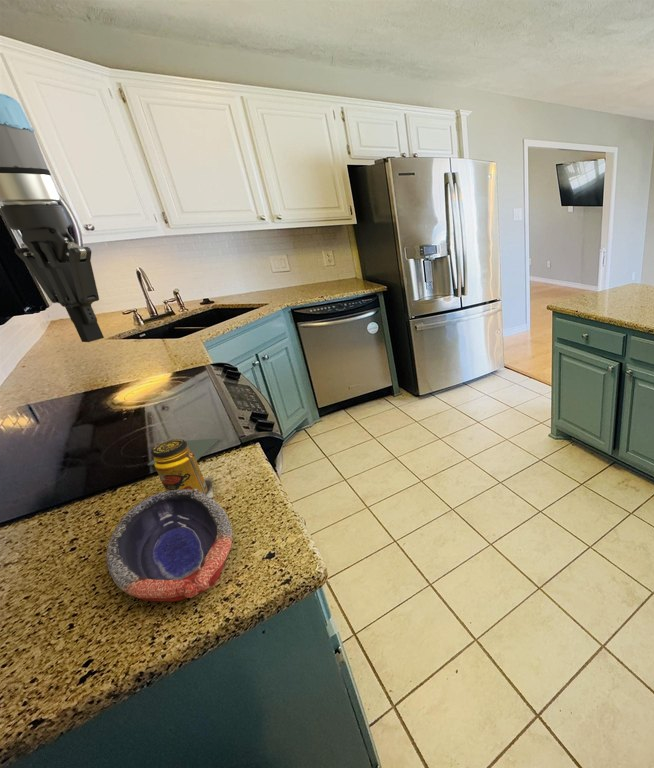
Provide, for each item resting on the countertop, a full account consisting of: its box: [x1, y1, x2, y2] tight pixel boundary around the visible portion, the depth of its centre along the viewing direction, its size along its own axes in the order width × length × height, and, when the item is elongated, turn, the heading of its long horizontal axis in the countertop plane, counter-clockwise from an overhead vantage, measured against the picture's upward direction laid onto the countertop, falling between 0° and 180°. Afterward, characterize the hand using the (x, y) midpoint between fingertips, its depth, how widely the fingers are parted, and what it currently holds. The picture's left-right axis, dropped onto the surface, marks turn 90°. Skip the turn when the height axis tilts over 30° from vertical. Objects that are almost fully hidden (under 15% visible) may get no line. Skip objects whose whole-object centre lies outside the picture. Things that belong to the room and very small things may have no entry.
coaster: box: [147, 437, 220, 467], centre depth 96 cm, size 10×10×1 cm
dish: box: [106, 489, 234, 602], centre depth 67 cm, size 16×31×5 cm, turn 45°
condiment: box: [151, 439, 214, 498], centre depth 80 cm, size 7×8×12 cm
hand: (93, 339), depth 77 cm, fingers closed
